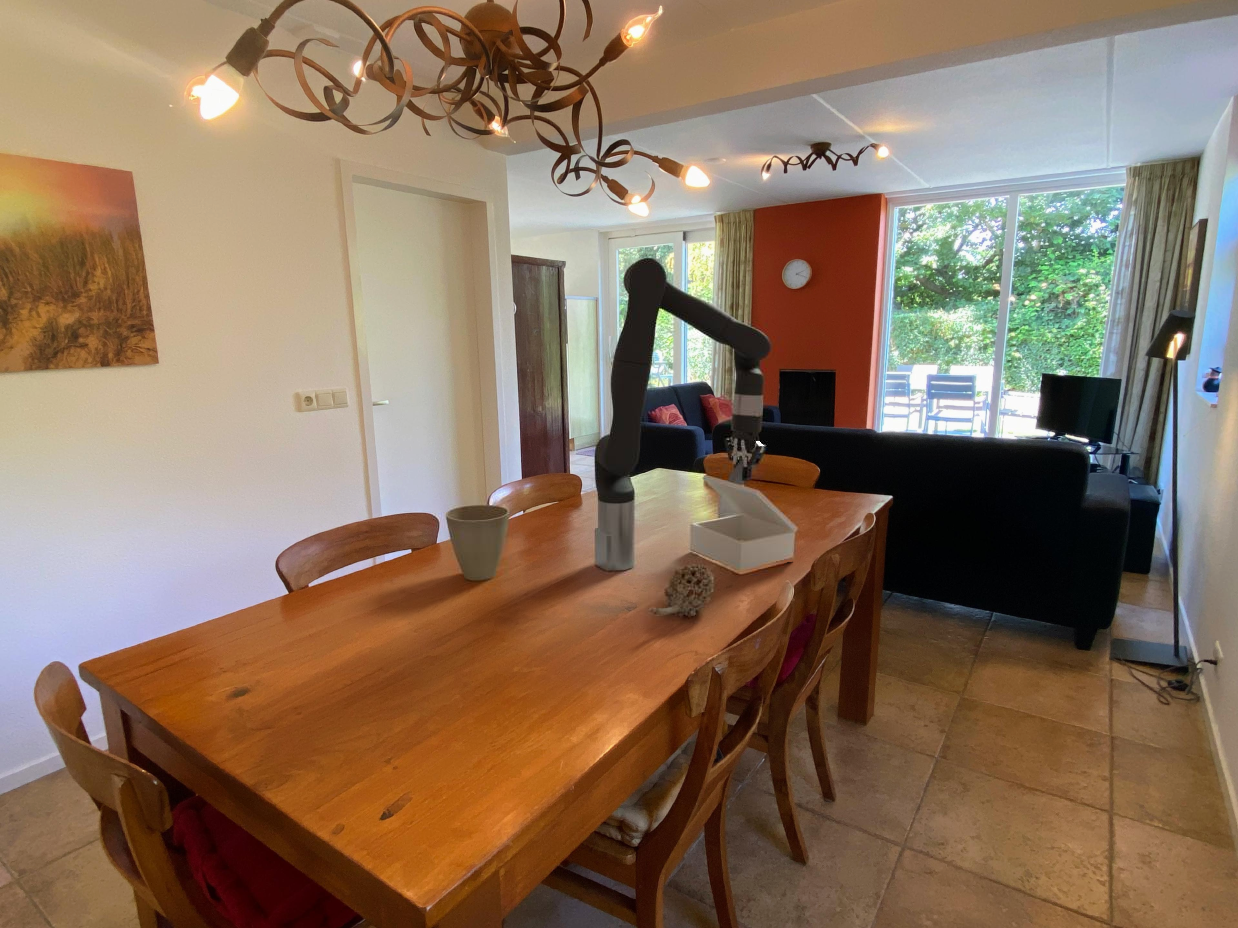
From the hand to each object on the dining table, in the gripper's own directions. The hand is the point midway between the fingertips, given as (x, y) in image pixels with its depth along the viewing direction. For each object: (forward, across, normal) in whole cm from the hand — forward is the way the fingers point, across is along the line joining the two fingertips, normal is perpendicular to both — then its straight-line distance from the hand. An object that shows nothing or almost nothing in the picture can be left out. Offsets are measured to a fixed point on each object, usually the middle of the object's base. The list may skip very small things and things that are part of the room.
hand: (742, 479), depth 168 cm
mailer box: (+21, 0, +2) cm, 21 cm away
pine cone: (+23, +22, -34) cm, 47 cm away
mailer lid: (+7, 0, +3) cm, 7 cm away
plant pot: (+24, -23, -61) cm, 70 cm away
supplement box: (+20, -26, +20) cm, 39 cm away
